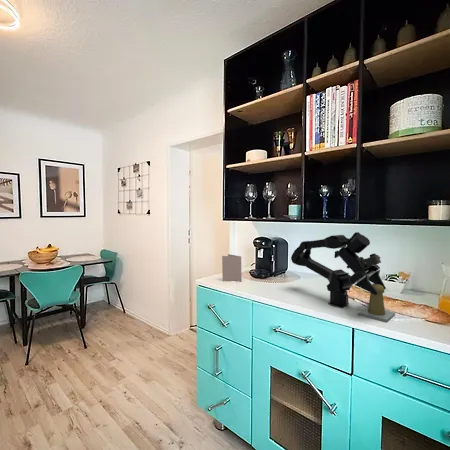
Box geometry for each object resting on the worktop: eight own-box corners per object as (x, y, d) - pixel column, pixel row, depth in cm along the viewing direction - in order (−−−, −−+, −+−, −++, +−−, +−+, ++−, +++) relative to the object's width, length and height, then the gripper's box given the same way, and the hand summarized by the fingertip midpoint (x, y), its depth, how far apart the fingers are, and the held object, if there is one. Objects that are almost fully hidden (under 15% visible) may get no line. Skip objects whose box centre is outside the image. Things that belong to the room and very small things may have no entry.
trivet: (358, 314, 104) (358, 312, 104) (367, 308, 111) (367, 305, 111) (386, 322, 97) (386, 319, 97) (395, 314, 104) (395, 312, 104)
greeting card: (242, 281, 155) (242, 256, 154) (233, 284, 150) (232, 257, 149) (229, 278, 163) (229, 253, 163) (220, 280, 159) (219, 255, 158)
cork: (379, 309, 107) (379, 282, 107) (388, 315, 101) (389, 286, 101) (364, 309, 107) (364, 282, 106) (373, 315, 101) (373, 287, 100)
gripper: (357, 250, 99) (390, 285, 92) (375, 245, 112) (405, 275, 104) (336, 267, 105) (365, 301, 98) (355, 261, 118) (382, 290, 111)
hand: (381, 291), depth 103 cm, fingers open, 9 cm apart
